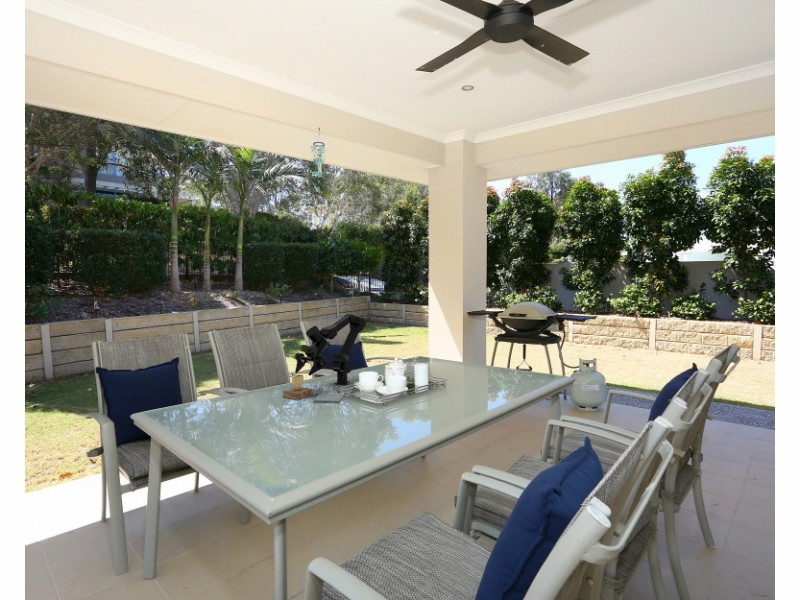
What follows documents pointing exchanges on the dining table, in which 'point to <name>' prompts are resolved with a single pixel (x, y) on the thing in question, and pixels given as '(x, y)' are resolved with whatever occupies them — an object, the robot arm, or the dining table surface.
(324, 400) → the mat
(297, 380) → the t key
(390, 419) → the dining table surface
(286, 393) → the slot block
